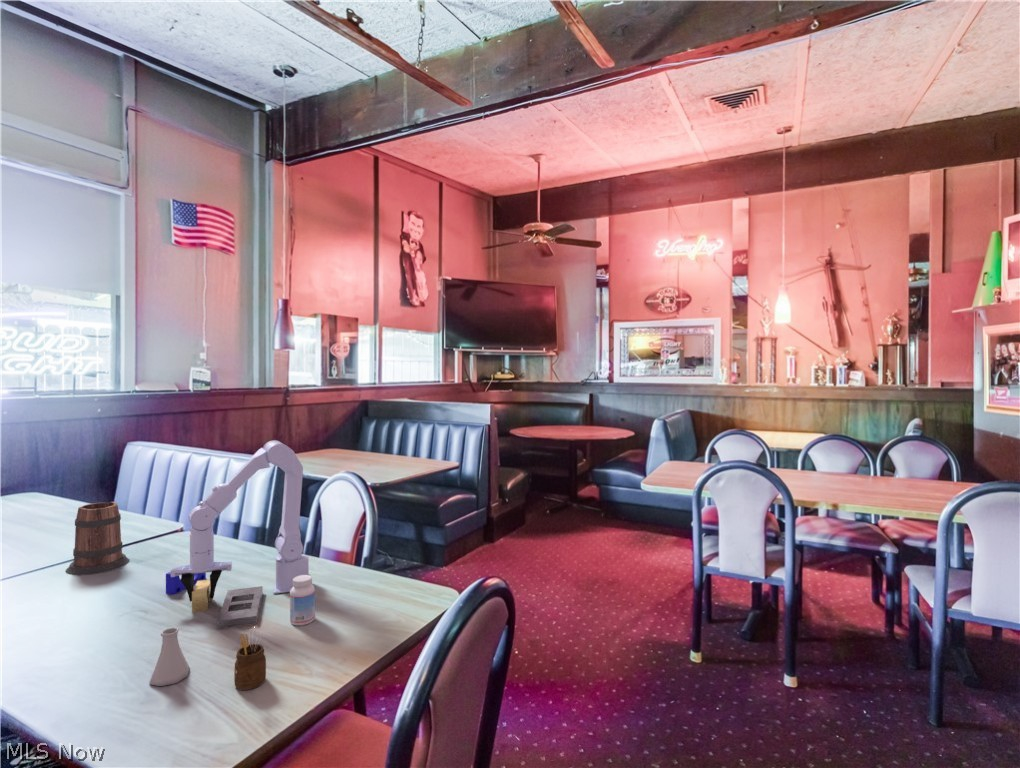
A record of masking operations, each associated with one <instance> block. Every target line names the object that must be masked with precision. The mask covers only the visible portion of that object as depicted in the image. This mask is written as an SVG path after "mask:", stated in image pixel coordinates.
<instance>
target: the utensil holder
mask: <svg viewBox="0 0 1020 768" xmlns="http://www.w3.org/2000/svg"><path fill="white" fill-rule="evenodd" d="M255 628H256V629H257V630H256V634H258V633H259V632H258V628H259V630H260V635H259V637H261V635H262V634H261V633H262V629H261V628H260V626H258V625H254V626H252V628H250V630H249V635H248V633H239V634H238V635H239V642H240V648H239V649H238V650H237V651H236V660H235V662H234V675H233V676H234V678H233V679H234V686H235V688H236V689H237V690H240V691H249V690H254V689H257V688H258V687H260V686H261V685H263V684H264V682H265V681H266V678H267V677H266V676H267V658H266V656H265V649H264V645H262V644H259V643H258V639H256V640H255V643H253V636H254V634H252V636H251V637H252V638H251V642H250V640H249V637H250V634H251V631H252V632H254V629H255ZM248 636H249V637H248Z"/></svg>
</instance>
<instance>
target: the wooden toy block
mask: <svg viewBox="0 0 1020 768" xmlns="http://www.w3.org/2000/svg"><path fill="white" fill-rule="evenodd" d="M210 589H211V587H210V578H209V579H204V580H200V581H197V583H196V584H194V589H193V591H192V601H191V613H198V612H204V611H208V608H209V602H211V600H212V599H210Z"/></svg>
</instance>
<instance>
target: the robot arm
mask: <svg viewBox="0 0 1020 768" xmlns="http://www.w3.org/2000/svg"><path fill="white" fill-rule="evenodd" d="M270 464H272V465H273V466H276V467H279V468H280V469H281V470H282V471H283V472H284V480H283V482H284V483H283V496H282V508H281V509H282V510H281V511H282V512H281V523H280V526H279V529H278V534H277V536H276V539H275V541H274V547H275V550H277V551H278V552H277V555H276V556H275V583H274V587H273V594H282V593H283V594H284V593H290V590H291V589H292V587H294V586H293V579H294V578H295V577H297V576H300V575H310V574H309V567H310V566H309V558H310V556H309V555H303V551H304V546H303V543H302V541H301V537H302V534H301V530H300V518H301V516H300V515H301V502H302V491H303V490H302V488H303V475H304V467H303V464H302V462H301V461H300V460H299V458H298V457H297V455H296V453H295V451H294V450H293V449H292V448H291V447H289V446H288V445H286V444H284V443H282V442H281V441H279V440H276V439H273V440H270V441H267V442H266V443H265V444H264V445H263V447H260V448H259V449H258V450H257V451H255V452H254V453H253V455H252V456H251V457H250V458H249V459H248V461H246V462H245V463H244V465H243V466H242V467H241V468H240V469H239V470H238V471H237V472H236V473H235V474H234V476H233V477H232V478H231V479H230V480H229V481H227V482H224V483H220V484H218V485H214V486H213V487H212V488H211V491H212V492H210V494H208V495H207V496H206V498H205V499H203V500H200V501H199V502H198V503H197V504H198V505H196V506H195V507H194V508H192V510H190V512H189V515H188V520H189V522H190V528H189V532H190V534H189V564H187V565H182V566H177V567H172V568H171V569H170V572H171V577H175V576H179V577H180V576H181V577H180V579H181V582H182V584H183V585H184V587H185V588H186V589H185V590H186V593H187V595H188V596H187V597H188V599H189V602H190V603H192V591H193V589H194V587H195V584H194V574H197V573H206V574H207V573H210V575H209V579H210V587H211V589H210V599H211V600H213V599H214V598H215V591H216V588H217V585H218V582H219V579H220V577H221V574H222V572H223V571H225V572H231V571H232V568H233V562H232V561H215V556H214V555H215V550H214V549H215V548H214V547H215V539H214V538H215V537H214V536H215V533H214V531H213V529H214V526H213V525H214V524H215V523H216V517H217V516H220V514H222V512H223V511H224V510H226V508H227V507H229V505H230V504H231V503H232V502H233V501H235V499H237V492H238V490H239V489H240V488H241V487H242V486H243V485H245V483H246V482H248V480H250V478H252V477H253V476H254V475H255V474H256V473H257V472H258V471H259V470H263V469H269V468H271V465H270ZM310 576H311V575H310Z"/></svg>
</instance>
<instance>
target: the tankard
mask: <svg viewBox="0 0 1020 768" xmlns="http://www.w3.org/2000/svg"><path fill="white" fill-rule="evenodd" d="M121 514H122V513H120V510H119V507H118V503H117V502H116V501H108V502H95V503H89V504H88V503H87V504H84V505H82V506H79V507H78V509H77V513H76V518H75V519H74V527H75V528H74V529H75V534H74V548H73V551H72V554H73V555H72V557H73V561H71V562H70V564H69V566H68V567H67V568H66V569H65V574H67V575H71V576H88V575H89V576H90V575H97V574H101V573H107V572H110V571H114V570H117V569H121V568H123V567H125V566H127V565H128V564H129V563H130V562H131V560H130V558H129V557H127V555H126V554H124V553H123V541H122V531H121V529H122V528H121V519H122V517H121V516H122V515H121Z"/></svg>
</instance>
